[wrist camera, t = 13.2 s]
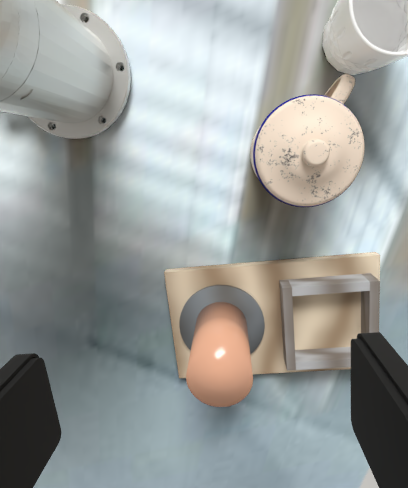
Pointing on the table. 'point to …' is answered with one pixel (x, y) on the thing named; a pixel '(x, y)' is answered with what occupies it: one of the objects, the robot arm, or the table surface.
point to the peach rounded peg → (220, 356)
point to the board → (283, 308)
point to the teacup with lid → (309, 147)
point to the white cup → (366, 34)
